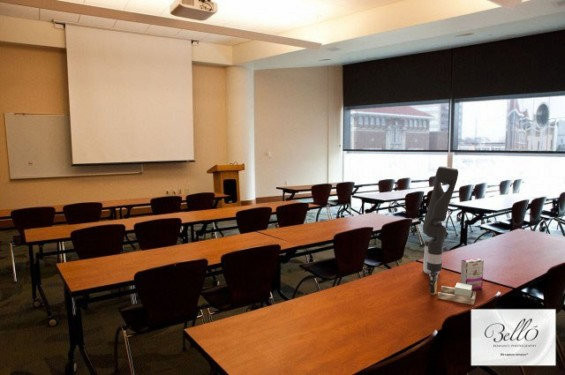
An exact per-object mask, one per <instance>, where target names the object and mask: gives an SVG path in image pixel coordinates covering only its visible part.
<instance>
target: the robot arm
mask: <svg viewBox="0 0 565 375" xmlns="http://www.w3.org/2000/svg"><path fill="white" fill-rule="evenodd" d="M435 172H436V173H435V178H434V184H433V188H432V193H431V196H430V199H429V203H428V208H427V212H426V216H425V218H424V221H423V224H422V232H423V234H424V235H426V236H427V237H428V239H426V240H425V241H424V256H423V260H422V261H423V264H422V265H423V266H422V271H423V273H424V274H427V275H429V276H428V286H429V294H430V293H433V294H434V290H435V283H436V281H437V282H438V281H439V274H440V272H441V271H442V269H443V265H442V264H443V244H444V241H445V238H446V235H447V233H448V232H447V228H446V226H443V222H446V219H447V214H448V209H449V205H450V203H451V200H452V197H453V194H454V191H455V188H456V185H457V181H458V178H459V169H458V168H454V167H450V166H443V165H440V166H438V167H437V169H436V171H435ZM442 184H445V185H448V187H447V189H446V191H444V189H443V187H442ZM434 280H435V281H434ZM431 283H433V284H431ZM433 294H432V295H433Z"/></svg>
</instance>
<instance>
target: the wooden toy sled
mask: <svg viewBox="0 0 565 375" xmlns="http://www.w3.org/2000/svg"><path fill="white" fill-rule="evenodd" d="M440 289H441V290H440V292H439V291H438V292H437V293H438V294H437V299H440V300H445V301H450V302H456V303H461V304H465V305H466V304H467V305H471V306H472V305H473V306H475V302H476V298H477V291H476V290H472V297H471V298H469V297H463V296H458V295H455V287H451V286H446V285H441V288H440Z"/></svg>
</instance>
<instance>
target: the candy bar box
mask: <svg viewBox="0 0 565 375" xmlns="http://www.w3.org/2000/svg"><path fill="white" fill-rule="evenodd" d="M484 262H485V261H484V259H481V258H479V257H475V258H467V259H465V258H464V259H461V262H460V265H461V266H460V267H461V268H460V283H463V284H469V285H472V291H474V290H479V289H483V283H484V282H483V281H484V280H483V278H484Z"/></svg>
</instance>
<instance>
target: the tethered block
mask: <svg viewBox="0 0 565 375" xmlns="http://www.w3.org/2000/svg"><path fill="white" fill-rule="evenodd" d="M434 281H435V280H434ZM431 284H433V283H431ZM437 287H438V281H436V283H435V290H434V294H433V293H430V292H429V294H430V295H438V292H437V289H438V288H437ZM454 288H455V294H454V295H458V296H463V297H469V298H472V291H473V290H472V285H469V284H463V283H461V282H456V284H455V286H454Z"/></svg>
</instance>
